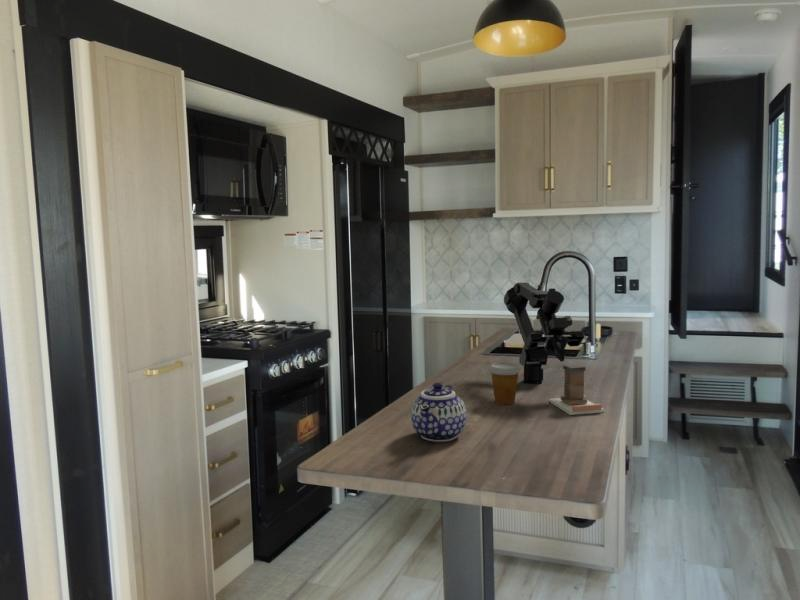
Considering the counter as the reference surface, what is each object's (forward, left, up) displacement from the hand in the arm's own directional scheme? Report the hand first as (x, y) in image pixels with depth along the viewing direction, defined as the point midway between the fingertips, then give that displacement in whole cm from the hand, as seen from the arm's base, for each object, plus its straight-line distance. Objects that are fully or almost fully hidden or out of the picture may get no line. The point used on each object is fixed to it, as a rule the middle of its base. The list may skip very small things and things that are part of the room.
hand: (562, 360), depth 216 cm
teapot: (-32, -45, -13) cm, 57 cm away
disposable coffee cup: (-18, -7, -13) cm, 23 cm away
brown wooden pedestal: (+4, -7, -11) cm, 14 cm away
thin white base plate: (+4, -9, -13) cm, 16 cm away
